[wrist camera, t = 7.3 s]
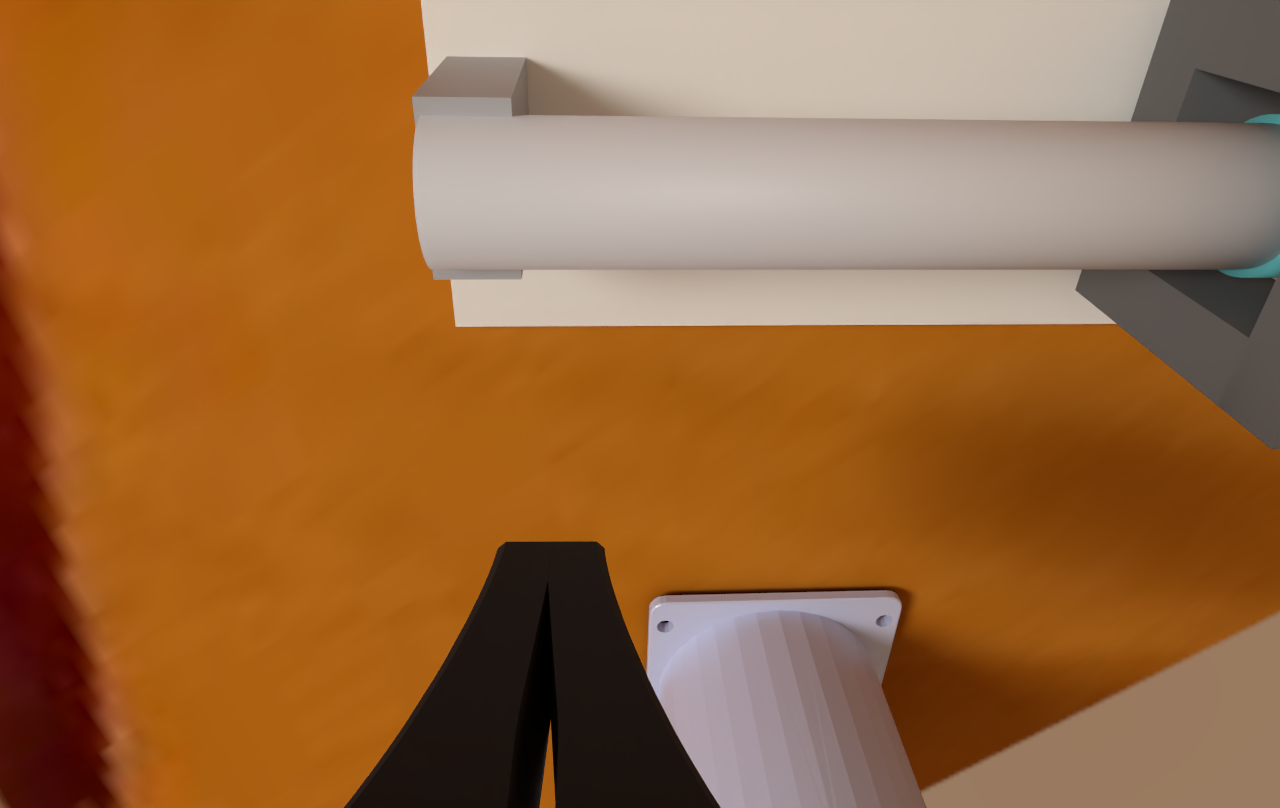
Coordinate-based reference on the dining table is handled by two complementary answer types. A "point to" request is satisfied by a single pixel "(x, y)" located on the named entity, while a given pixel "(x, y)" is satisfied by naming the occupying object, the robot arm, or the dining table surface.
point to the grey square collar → (1208, 299)
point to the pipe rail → (805, 87)
